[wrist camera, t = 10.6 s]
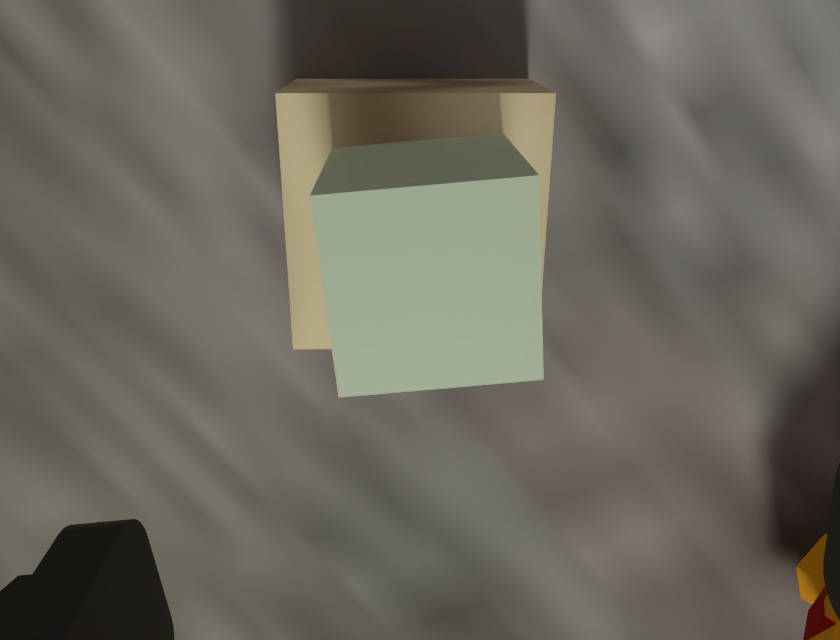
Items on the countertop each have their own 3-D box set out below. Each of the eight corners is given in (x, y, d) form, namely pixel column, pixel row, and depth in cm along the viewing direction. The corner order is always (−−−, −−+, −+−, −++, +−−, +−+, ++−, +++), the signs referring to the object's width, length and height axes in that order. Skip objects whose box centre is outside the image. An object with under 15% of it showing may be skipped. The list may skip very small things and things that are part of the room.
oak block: (527, 78, 26) (556, 93, 21) (514, 293, 29) (537, 346, 24) (296, 78, 26) (275, 93, 21) (309, 294, 29) (292, 349, 24)
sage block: (502, 132, 22) (538, 175, 16) (509, 292, 24) (543, 380, 18) (332, 148, 22) (309, 195, 16) (352, 306, 24) (338, 397, 18)
